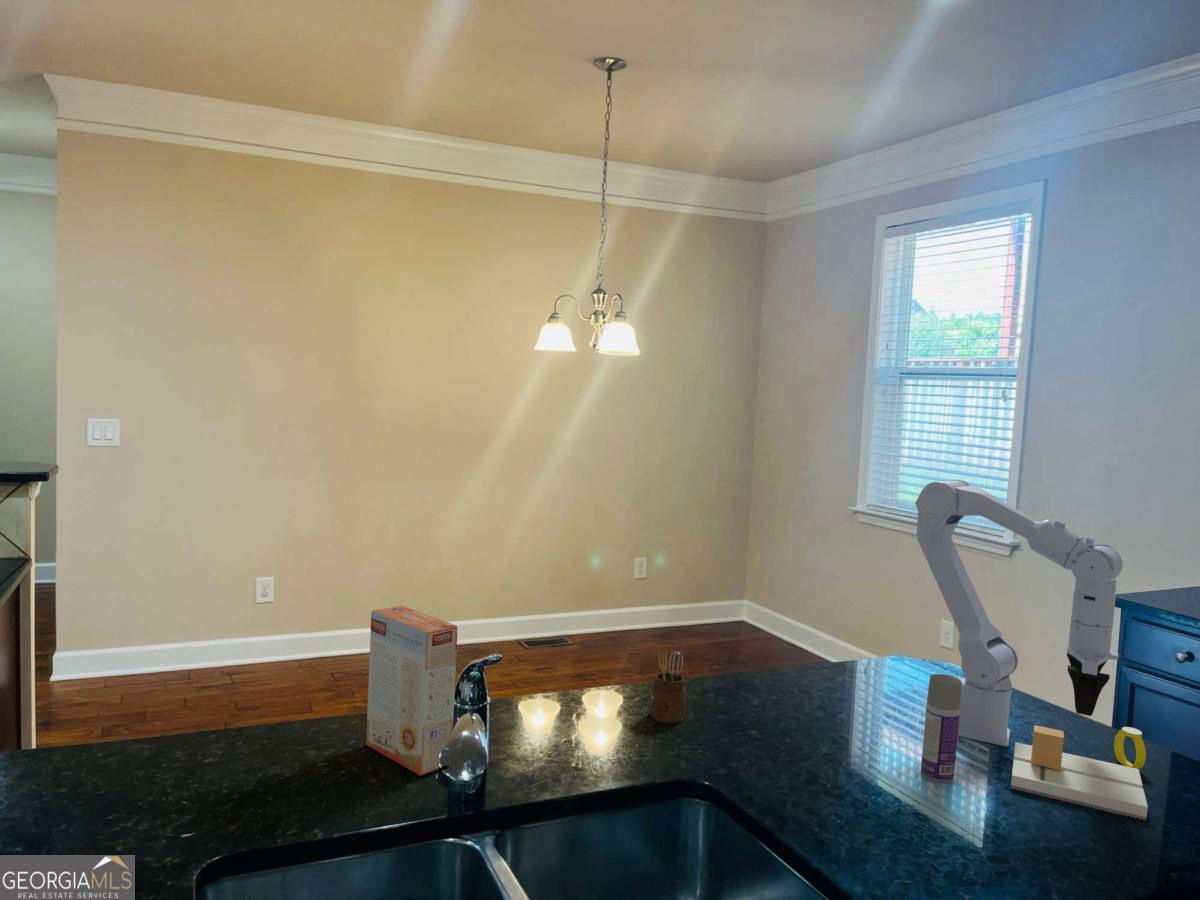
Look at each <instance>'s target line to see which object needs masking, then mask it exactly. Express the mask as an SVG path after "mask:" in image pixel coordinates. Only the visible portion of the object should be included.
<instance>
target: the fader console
mask: <svg viewBox="0 0 1200 900" xmlns="http://www.w3.org/2000/svg"><path fill="white" fill-rule="evenodd" d="M1013 751H1014V752H1013V753H1014V754H1013V762H1012V763H1013V764H1012V772H1011V783H1010V789H1013V790H1018V791H1020V792H1024V793H1028V794H1029V793H1030V794H1032V795H1037V796H1041V797H1046V798H1050V799H1054V800H1059V801H1061V802H1065V803H1066V802H1067V803H1071V804H1074V805H1078V806H1079V805H1080V806H1084V807H1087V808H1091V807H1092V808H1091V809H1096V810H1099V811H1103V810H1104V811H1105V812H1108V813H1111V814H1116V815H1121V816H1124V815H1125V816H1124V817H1128V816H1130V817H1129V818H1132V817H1134V818H1133V819H1136V818H1139V819H1138V820H1141V819H1143V820H1142V821H1145V820H1146V821H1147V816H1148V807H1149V806H1148V801H1147V799H1146V795H1145V790H1144V788H1143V782H1142V778H1141V774H1140V769H1136V768H1131V767H1127V766H1124V765H1123V764H1118V763H1113V762H1108V761H1103V760H1098V759H1094V758H1089V757H1085V756H1080V755H1076V754H1071V753H1066V752H1064V751H1063V752H1062V762H1061V770H1057V769H1053V768H1049V767H1044V766H1040V765H1035V764H1031V754H1032V744H1025V743H1020V742H1017V741H1016V742H1015V743H1014V750H1013Z"/></svg>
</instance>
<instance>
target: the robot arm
mask: <svg viewBox="0 0 1200 900" xmlns="http://www.w3.org/2000/svg"><path fill="white" fill-rule="evenodd" d="M914 504H915V506H916V507H915V508H917V518H916V519H917V520H916V522H917V523H916V539H917V541H918V542H917V543H918V544H919V547H920V548H921V551H922V553H923V555H924V557H925V560H926V561H927V563H928V566H929V568H930V571H931V572H932V575H933V578H934V580H935V582H936V584H937V586H938V589H939V590H940V593H941V595H942V598H943V599H944V602H945V604H946V606H947V609H948V611H949V613H950V615H951V618H952V619H953V622H954V624H955V626H956V629H957V631H958V633H959V634H958V642H957V649H958V651H959V653H960V657H961V670H962V673H963V676H964V677H958V676H957V677H956V678H958V679H960V680H961V681H962V684H961V700H960V717H959V728H958V737H961V738H962V737H963V738H967V739H969V740H970V739H971V740H975V741H979V742H983V743H984V742H985V743H988V744H991V745H992V744H993V745H996V746H997V745H998V746H1002V747H1009V742H1010V736H1011V735H1010V734H1011V729H1010V728H1009V727H1008V726H1009V725H1008V724H1009V715H1010V707H1011V706H1010V705H1011V704H1010V703H1011V695H1012V686H1013V685H1012V681H1011V679H1010V675H1012V674H1013V673H1014V672H1015V671H1016V670H1017V667H1018V664H1019V658H1018V653H1017V652H1016V649H1015V648H1013V646H1012V645H1011V644H1009V642H1007V640H1005V638H1004V636H1003V634H1002V632H1001V630H999V629H998V628H997V627H996V626H995V625H994V624H993V623H992V622H990V620H989V618H988V615H987V613H986V610H985V609H984V607H983V604H982V602H981V600H980V598H979V595H978V593H977V591H976V588H975V587H974V584H973V583H972V580H971V578H970V575H969V574H968V572H967V570H966V567H965V565H964V563H963V560H962V559H961V556H960V554H959V552H958V550H957V547H956V545H955V543H954V541H953V539H952V536H953V534H954V532H955V529H956V528H957V525H958V524H959V522H960V521H961V520H962V519H963V518H964V517H965V516H971V517H972V516H980V517H983V518H985V519H987V520H989V521H991V522H993V523H995V524H997V525H999V526H1001V527H1003V528H1004V529H1007V530H1009V531H1011V532H1012V533H1015V534H1017V535H1019V536H1021V537H1024V538H1025V539H1026V540H1027V544H1028V546H1029V549H1030V550H1031V551H1033V552H1035V553H1037V554H1038V555H1040V556H1042V557H1044V558H1046V559H1048V560H1049V561H1051V562H1053V563H1055V564H1057V565H1059V566H1060V567H1062V568H1064V569H1066V570H1068V571H1069V570H1071V572H1072V575H1073V576H1074V578H1075V582H1074V583H1075V585H1074V590H1073V597H1072V605H1071V606H1072V607H1071V615H1070V617H1071V619H1070V623H1069V624H1070V625H1069V636H1068V644H1067V645H1066V657H1067V659H1068V661H1069V662H1068V663H1070V664H1068V665H1067V673H1068V675H1069V677H1070V679H1071V682H1072V683H1071V684H1072V687H1073V692H1074V693H1073V694H1074V707H1075V712H1076V714H1079V715H1084V716H1089V717H1091V716H1093V713H1094V712H1095V708H1096V706H1097V703H1098V699H1099V696H1100V694H1101V692H1102V690H1103V688H1104V687H1105V685H1107V683H1109V681H1110V677H1111V675H1110V674H1108V673H1101V671H1102V668H1104V666H1105V665H1106V663H1107V662H1108V661H1109V660H1116V661H1117V660H1119V653H1118V652H1115V651H1111V646H1112V645H1111V644H1112V636H1113V628H1114V627H1113V625H1114V618H1115V616H1114V615H1115V609H1116V599H1117V597H1116V591H1117V580H1116V578H1117V577H1118V576H1119V575H1120V573H1121V572H1122V570H1123V566H1124V565H1123V563H1124V562H1123V560H1122V556H1121V555H1120V554H1119V552H1118V551H1116V550H1115V549H1114V548H1113V547H1111V546H1110V545H1109V544H1106V543H1096V544H1095V542H1096V539H1094V538H1092V537H1091V536H1088V537H1084V536H1083V535H1080V534H1078V533H1076V532H1075V531H1073V530H1071V529H1069V528H1067V527H1065V526H1066V524H1067V523H1066V522H1064V521H1062V520H1060V519H1057V520H1055V521H1054V520H1052V519H1044V520H1041V521H1037V520H1035V518H1033V517H1031V516H1029V515H1027V514H1025V513H1024V512H1022V511H1020V510H1019V509H1017V508H1015V507H1013V506H1012V505H1010V504H1008V503H1006V501H1004V500H1001V499H999V497H996V496H994V495H993V494H991V493H990V492H987V491H986V490H984V489H982V488H981V487H979V486H976V485H973V484H972V485H971V484H970V483H968V482H967V481H965V480H962V479H957V478H956V479H951V480H947V481H933V482H929V483H928V484H926V485H925V486H924V487H923V488H922V490H921V491H920V493H919V495H918V497H917V499H916V500H915V503H914Z"/></svg>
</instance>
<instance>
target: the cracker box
mask: <svg viewBox="0 0 1200 900" xmlns="http://www.w3.org/2000/svg"><path fill="white" fill-rule="evenodd" d="M370 614H371V615H370V634H369V635H370V638H369V639H370V640H369V642H370V644H369V660H368V661H369V662H368V663H369V666H368V668H369V669H368V691H367V694H368V695H367V716H366V718H367V720H366V741H365V742H366V743H365V745H366V747H367V746H368V747H369V748H370V749H371V748H372V750H375V751H376V752H378V753H380V755H383V756H385V757H387V758H388V759H390V760H391V761H394V762H396V763H397V764H399V765H401V766H402V767H404V768H406V769H407V770H409V771H411V772H412V773H414V774H416V775H418V776H423V775H426V774H429V773H433V772H435V771H437V770H440V769H439V754H440V751H441V749H442V747H443V745H444V744H445V742H446V740H447V738H448V737H449V735H450V733H451V731H452V729H453V730H454V714H455V713H454V712H455V711H454V709H455V691H456V666H457V665H456V664H457V652H458V651H457V648H458V627H459V626H458V625H457V624H453V623H450V622H448V621H444V620H442V619H439V618H437V617H434V616H431V615H428V614H425V613H423V612H419V611H417V610H415V609H412V608H409V607H407V606H404V605H397V606H391V607H386V608H381V609H374V610H373V611H372V610H371V613H370Z"/></svg>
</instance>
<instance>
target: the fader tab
mask: <svg viewBox="0 0 1200 900" xmlns="http://www.w3.org/2000/svg"><path fill="white" fill-rule="evenodd" d="M1033 726H1034V727H1033V735H1032V744H1031V746H1032V754H1031V764H1035V765H1040V766H1044V767H1049V768H1053V769H1057V770H1061V762H1062V752H1063V753H1064V751H1063V750H1064V739H1065V734H1064V733H1065V731H1064V730H1060V729H1055V728H1050V727H1046V726H1042V725H1035V724H1034V725H1033Z"/></svg>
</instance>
